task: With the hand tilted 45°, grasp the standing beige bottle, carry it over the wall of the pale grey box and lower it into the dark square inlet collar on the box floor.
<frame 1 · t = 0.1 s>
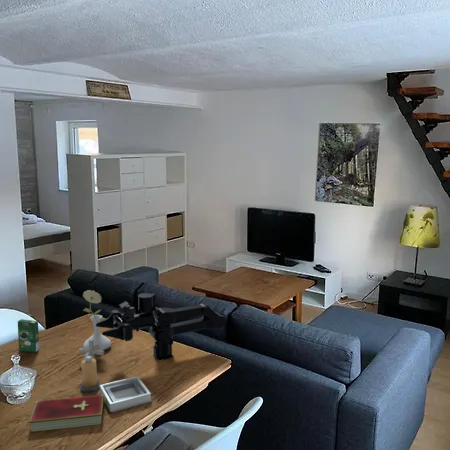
hand: (99, 329, 176), 17 cm above the table, tool horizontal, fingers open, 9 cm apart
coffee box: (29, 351, 195), on the table
hardcover book: (69, 419, 148), on the table
beige bottle: (89, 387, 166), on the table
pipe connector: (92, 364, 184), on the table
flower in vase: (96, 348, 198), on the table
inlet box: (124, 397, 160), on the table
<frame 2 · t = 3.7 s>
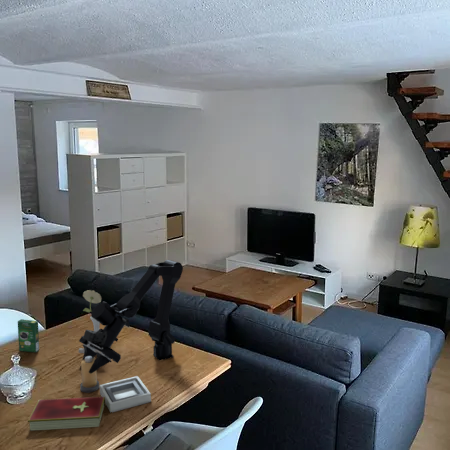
hand: (85, 370, 164), 7 cm above the table, tool tilted 45°, fingers closed on beige bottle, 5 cm apart
beige bottle: (89, 387, 166), on the table, touching gripper
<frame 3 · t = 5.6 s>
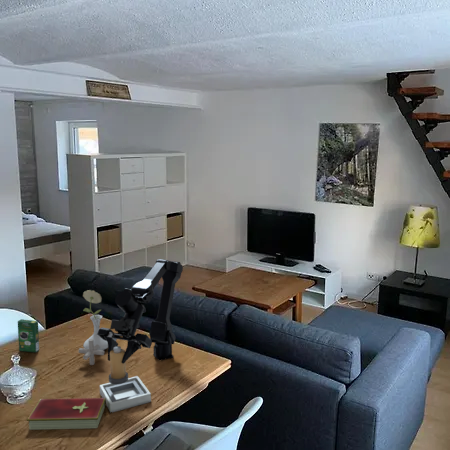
hand: (115, 361, 157), 13 cm above the table, tool tilted 45°, fingers closed on beige bottle, 5 cm apart
beige bottle: (118, 379, 159), point 6 cm above the table, touching gripper
when the fingers open (8 cm above the table, at t = 7.3 s): beige bottle stays where it is, resting on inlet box.
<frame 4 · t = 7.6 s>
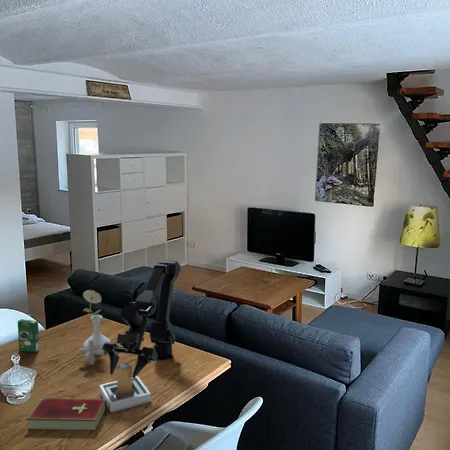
hand: (122, 376, 157), 9 cm above the table, tool tilted 45°, fingers open, 8 cm apart
beige bottle: (125, 395, 160), point 1 cm above the table, touching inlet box
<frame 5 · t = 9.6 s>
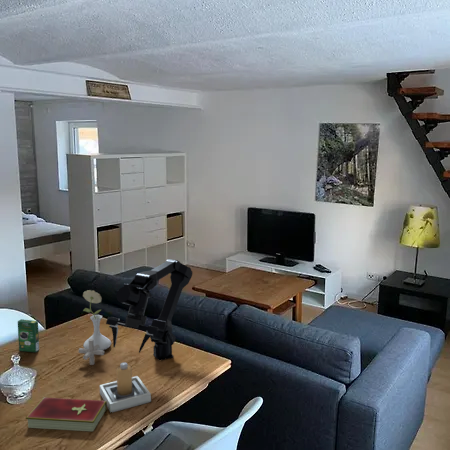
hand: (126, 350, 169), 12 cm above the table, tool tilted 25°, fingers open, 9 cm apart
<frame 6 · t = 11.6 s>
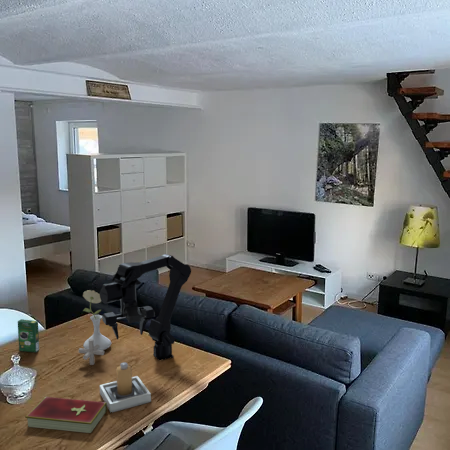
hand: (129, 336, 178), 13 cm above the table, tool pointing down, fingers open, 9 cm apart
at the end: beige bottle 0.1 cm off-centre on the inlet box, point 0.6 cm above the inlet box's base; beige bottle tilted 0°; the gripper is holding nothing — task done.
